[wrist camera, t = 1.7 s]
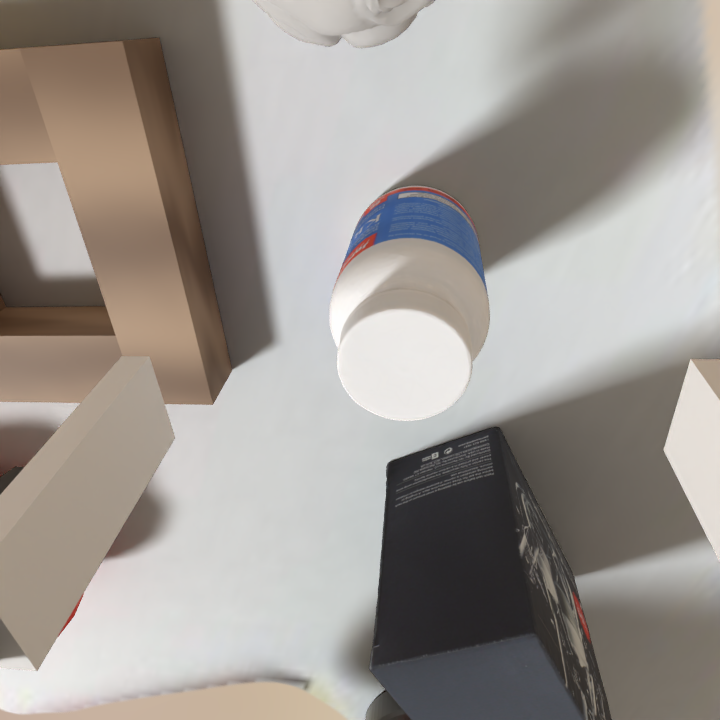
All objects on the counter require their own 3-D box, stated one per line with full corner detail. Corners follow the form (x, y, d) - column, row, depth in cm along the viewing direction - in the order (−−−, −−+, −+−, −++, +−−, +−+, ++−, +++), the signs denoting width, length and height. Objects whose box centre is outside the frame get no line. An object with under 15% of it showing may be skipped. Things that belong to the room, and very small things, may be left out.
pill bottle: (366, 169, 23) (329, 258, 15) (494, 199, 23) (528, 304, 15) (343, 287, 26) (301, 417, 18) (456, 313, 26) (466, 454, 18)
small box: (579, 575, 35) (639, 809, 24) (474, 599, 37) (490, 821, 27) (501, 420, 29) (539, 640, 19) (383, 459, 31) (361, 673, 21)
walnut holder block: (232, 370, 29) (213, 404, 27) (-29, 368, 31) (-70, 400, 28) (159, 37, 21) (122, 41, 19) (-185, 63, 23) (-261, 69, 21)
